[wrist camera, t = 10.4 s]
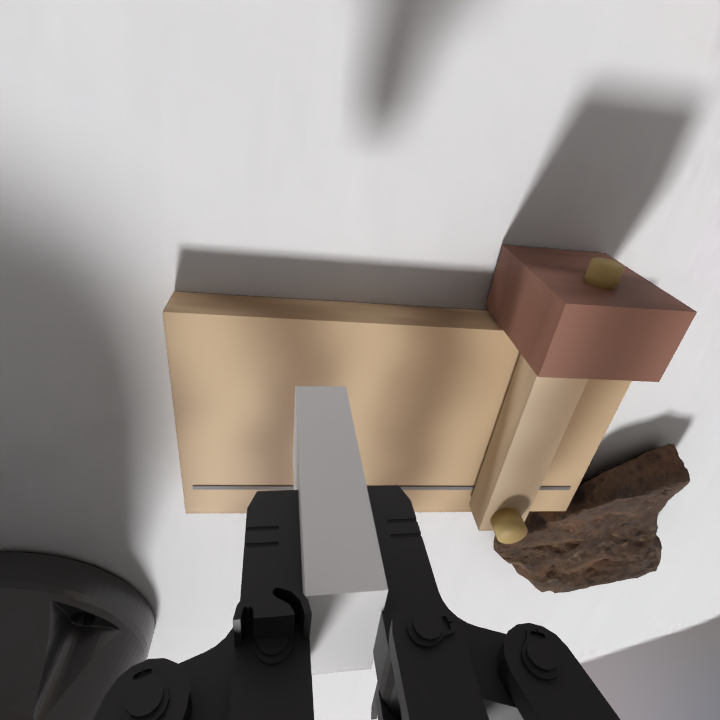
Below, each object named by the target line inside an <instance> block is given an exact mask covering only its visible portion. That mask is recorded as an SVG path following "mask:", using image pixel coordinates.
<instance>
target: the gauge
mask: <svg viewBox="0 0 720 720" xmlns="http://www.w3.org/2000/svg"><path fill="white" fill-rule="evenodd" d="M485 306H486V308H487V309H488V310H489V312H490V313H491V314H492V316H493V317H494V318H495V320H496V321H497V322H498V324H499V325H500V326H501V328H502V329H503V330H504V332H505V333H506V334H507V336H508V337H509V339H510V340H511V341H512V343H513V344H514V345H515V347H516V348H517V349H518V351H519V352H520V353H521V354H520V357H519V360H518V363H517V365H516V368H515V371H514V374H513V377H512V380H511V383H510V386H509V389H508V392H507V395H506V398H505V400H504V403H503V406H502V409H501V412H500V415H499V418H498V421H497V424H496V427H495V430H494V432H493V435H492V438H491V441H490V444H489V447H488V450H487V453H486V456H485V459H484V462H483V464H482V467H481V470H480V473H479V476H478V479H477V482H476V485H475V488H474V491H473V494H472V497H471V499H470V502H469V506H470V508H471V511H472V514H473V516H474V519H475V522H476V524H477V527H478V530H479V531H488V530H494V532H495V535H496V537H497V539H498V541H499V542H501V543H504V544H512V543H516V542H518V541H520V540H522V539H523V538H524V537H525V536H526V534H527V532H528V529H527V527H526V525H525V523H524V522H525V520H526V518H527V515H528V513H529V511H530V509H531V506H532V504H533V502H534V500H535V497H536V495H537V493H538V491H539V488H540V486H541V484H542V482H543V480H544V477H545V475H546V473H547V471H548V468H549V466H550V464H551V462H552V459H553V457H554V455H555V453H556V450H557V448H558V446H559V444H560V441H561V439H562V437H563V435H564V432H565V430H566V428H567V426H568V423H569V421H570V419H571V417H572V415H573V412H574V410H575V408H576V406H577V403H578V401H579V399H580V397H581V394H582V392H583V390H584V388H585V385H586V383H587V381H588V379H600V380H625V381H650V382H659V381H660V379H661V377H662V375H663V374H664V372H665V370H666V368H667V366H668V364H669V363H670V361H671V359H672V357H673V355H674V353H675V352H676V350H677V348H678V346H679V344H680V342H681V340H682V339H683V337H684V335H685V333H686V331H687V329H688V328H689V326H690V324H691V322H692V320H693V318H694V317H695V315H696V313H697V312H696V311H695V310H693V309H691V308H690V307H688V306H687V305H685V304H684V303H682V302H681V301H679V300H677V299H676V298H674V297H673V296H671V295H670V294H668V293H667V292H665V291H663V290H662V289H660V288H659V287H657V286H656V285H654V284H652V283H651V282H649V281H648V280H646V279H645V278H643V277H642V276H640V275H638V274H637V273H635V272H634V271H632V270H631V269H629V268H628V267H626V266H624V265H623V264H621V263H620V262H618V261H617V260H615V259H613V258H612V257H610V256H609V255H607V254H606V253H596V252H584V251H572V250H560V249H548V248H536V247H524V246H512V245H502V248H501V252H500V255H499V259H498V262H497V266H496V270H495V273H494V277H493V280H492V284H491V287H490V291H489V295H488V298H487V302H486V305H485Z"/></svg>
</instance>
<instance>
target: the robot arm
mask: <svg viewBox="0 0 720 720" xmlns="http://www.w3.org/2000/svg"><path fill="white" fill-rule="evenodd" d="M293 481H294V490H275V491H257V492H256V494H255V496H254V497H253V499H252V501H251V503H250V504H249V506H248V508H247V517H246V531H245V546H244V557H243V571H242V584H241V598H240V602H239V603H238V605H237V607H236V611H235V614H234V618H233V628H232V630H231V631H230V632H229V634H228V635H227V636H226V638H225V639H223V640H222V641H221V642H220V643H219V644H218V645H216V646H215V647H213V648H212V649H210V650H208V651H206V652H204V653H202V654H200V655H198V656H195V657H193V658H191V659H188V660H186V661H184V662H181V663H179V664H178V663H175V662H173V661H170V660H168V659H165V658H159V659H148V660H147V657H148V653H149V649H150V645H151V641H152V637H153V633H154V628H155V621H154V616H153V613H152V610H151V608H150V607H149V605H148V603H147V602H146V601H145V599H144V598H143V597H142V596H141V595H140V594H139V593H138V592H137V591H136V590H135V589H134V588H132V587H131V586H130V585H128V584H127V583H125V582H124V581H122V580H121V579H119V578H117V577H115V576H114V575H112V574H110V573H107V572H105V571H103V570H101V569H98V568H96V567H93V566H90V565H88V564H84V563H81V562H78V561H74V560H70V559H66V558H62V557H57V556H51V555H44V554H36V553H23V552H0V720H314V710H313V692H312V675H314V674H324V673H334V672H343V671H353V670H363V669H371V668H372V663H373V658H374V661H375V668H376V674H377V680H378V681H377V686H376V690H375V694H374V699H373V703H372V711H371V719H377V715H378V720H620V719H619V717H618V716H617V714H616V713H615V712H614V710H613V709H612V708H611V706H610V705H609V703H608V702H607V701H606V699H605V698H604V697H603V695H602V694H601V692H600V691H599V690H598V688H597V687H596V686H595V684H594V683H593V681H592V680H591V679H590V677H589V676H588V675H587V673H586V672H585V670H584V669H583V668H582V666H581V665H580V663H579V662H578V661H577V659H576V658H575V657H574V655H573V654H572V652H571V651H570V650H569V648H568V647H567V646H566V645H565V644H564V643H563V642H562V641H561V639H560V638H559V637H558V636H557V635H556V634H554V633H552V632H551V631H549V630H548V629H546V628H544V627H543V626H539V625H535V624H531V623H525V624H518V625H516V626H515V627H513V628H512V629H511V630H509V631H508V633H507V634H504V633H500V632H496V631H492V630H488V629H484V628H481V627H477V626H474V625H471V624H469V623H466V622H465V621H463V620H461V619H460V618H458V617H457V616H456V615H455V614H453V613H452V612H451V611H450V610H449V609H448V607H447V606H446V605H445V603H444V602H443V600H442V598H441V596H440V594H439V591H438V588H437V585H436V582H435V578H434V575H433V572H432V568H431V565H430V562H429V559H428V555H427V552H426V549H425V545H424V542H423V539H422V537H421V532H420V529H419V526H418V522H416V516H415V512H414V509H413V506H412V503H411V500H410V499H409V498H408V496H407V495H406V494H405V493H404V491H403V490H402V489H401V488H400V487H399V485H385V486H366V481H365V476H364V471H363V466H362V462H361V457H360V452H359V447H358V442H357V438H356V433H355V428H354V423H353V418H352V413H351V409H350V404H349V399H348V394H347V389H346V386H295V409H294V435H293Z"/></svg>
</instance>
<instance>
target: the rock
mask: <svg viewBox="0 0 720 720" xmlns="http://www.w3.org/2000/svg"><path fill="white" fill-rule="evenodd" d="M689 482H690V477H689V473H688V470H687V469H686V468H685V467H684V463H683V461H682V460H681V459H680V457H679V456H678V452H677V450H676V448H675V446H674V444H669V445H665V446H662V447H660V448H657V449H654V450H651V451H647V452H646V453H644V454H642V455H640V456H639V457H637V458H634V459H632V460H630V461H628V462H625V463H623V464H621V465H618V466H616V467H614V468H612V469H610V470H608V471H605V472H602V473H601V474H600V475H599V476H597V477H595V478H593V479H591V480H589V481H586V482H584V484H582V485H581V487H580V488H577V490H576V492H575V494H574V496H573V498H572V500H571V502H570V504H569V506H568V508H567V510H566V511H529V513H528V515H527V518H526V520H525V522H524V523H525V525H526V527H527V529H528V532H527V534H526V536H525V537H524V538H523V539H522V540H520V541H518V542H516V543H512V544H504V543H501V542H499V541H498V539H497V537H496V535H495V538H494V550H495V551H496V552H497V553H498V554H499V555H500V556H501V557H502V558H503V559H504V560H506V561H507V562H508V563H510V564H512V565H513V566H514V568H515V570H516V571H517V573H518V574H520V575H521V576H523V577H525V578H526V579H528V580H529V581H530V582H531V583H532V584H533V585H534V586H535V587H536V588H537V589H538V590H540V591H541V592H545V591H549V590H550V591H553V592H554V593H558V592H570V591H574V590H578V589H584V588H588V587H590V586H595V585H600V584H607V583H613V582H616V581H622V580H626V579H631V578H638V577H640V576H643V575H645V574H647V573H649V572H652V571H656V569H657V567H658V565H659V563H660V559H661V549H662V546H661V542H660V539H659V537H658V536H657V535H656V532H657V528H658V526H657V515H658V513H659V512H660V511H661V510H662V509H663V507H664V506H665V505H666V503H667V501H668V500H669V499H670V498H671V497H673V496H674V495H675V494H676V493H678V492H679V491H680V490H682V489H683V488H684V487H685V486H686V485H687V484H688V483H689Z"/></svg>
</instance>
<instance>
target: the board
mask: <svg viewBox="0 0 720 720" xmlns="http://www.w3.org/2000/svg"><path fill="white" fill-rule="evenodd" d="M163 319H164V328H165V337H166V345H167V354H168V363H169V371H170V380H171V389H172V398H173V406H174V415H175V424H176V432H177V441H178V450H179V458H180V467H181V476H182V484H183V493H184V502H185V510H186V513H247V508H248V506H249V504H250V503H251V501H252V499H253V497H254V496H255V494H256V492H257V491H275V490H294V481H293V435H294V409H295V386H346V389H347V394H348V399H349V404H350V409H351V413H352V418H353V423H354V428H355V433H356V438H357V442H358V447H359V452H360V457H361V462H362V466H363V471H364V476H365V481H366V486H385V485H399V487H400V488H401V489H402V490H403V491H404V493H405V494H406V495H407V496H408V498H409V499H410V500H411V503H412V506H413V509H414V512H472V511H471V508H470V506H469V502H470V499H471V497H472V494H473V491H474V488H475V485H476V482H477V479H478V476H479V473H480V470H481V467H482V464H483V462H484V459H485V456H486V453H487V450H488V447H489V444H490V441H491V438H492V435H493V432H494V430H495V427H496V424H497V421H498V418H499V415H500V412H501V409H502V406H503V403H504V400H505V398H506V395H507V392H508V389H509V386H510V383H511V380H512V377H513V374H514V371H515V368H516V365H517V363H518V360H519V357H520V354H521V353H520V352H519V351H518V349H517V348H516V347H515V345H514V344H513V343H512V341H511V340H510V339H509V337H508V336H507V334H506V333H505V332H504V330H503V329H502V328H501V326H500V325H499V324H498V322H497V321H496V320H495V318H494V317H493V316H492V314H491V313H490V312H489V311H488V310H471V309H455V308H438V307H422V306H406V305H389V304H373V303H356V302H340V301H323V300H307V299H290V298H274V297H257V296H241V295H225V294H208V293H192V292H175V291H174V292H173V294H172V296H171V298H170V299H169V301H168V303H167V305H166V307H165V309H164V310H163ZM630 383H631V381H625V380H600V379H588V381H587V383H586V385H585V388H584V390H583V392H582V394H581V397H580V399H579V401H578V403H577V406H576V408H575V410H574V412H573V415H572V417H571V419H570V421H569V423H568V426H567V428H566V430H565V432H564V435H563V437H562V439H561V441H560V444H559V446H558V448H557V450H556V453H555V455H554V457H553V459H552V462H551V464H550V466H549V468H548V471H547V473H546V475H545V477H544V480H543V482H542V484H541V486H540V488H539V491H538V493H537V495H536V497H535V500H534V502H533V504H532V506H531V509H530V511H566V510H567V508H568V506H569V504H570V502H571V500H572V498H573V496H574V494H575V492H576V490H577V488H578V486H579V484H580V482H581V480H582V478H583V476H584V474H585V472H586V470H587V468H588V466H589V464H590V462H591V460H592V458H593V456H594V454H595V452H596V450H597V448H598V446H599V444H600V442H601V441H602V439H603V437H604V435H605V433H606V431H607V429H608V427H609V425H610V423H611V421H612V419H613V417H614V415H615V413H616V411H617V409H618V407H619V405H620V403H621V401H622V399H623V397H624V395H625V393H626V391H627V389H628V387H629V385H630Z"/></svg>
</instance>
